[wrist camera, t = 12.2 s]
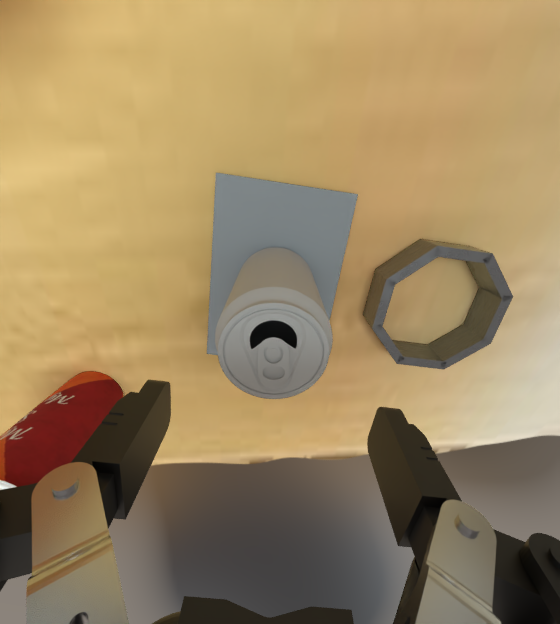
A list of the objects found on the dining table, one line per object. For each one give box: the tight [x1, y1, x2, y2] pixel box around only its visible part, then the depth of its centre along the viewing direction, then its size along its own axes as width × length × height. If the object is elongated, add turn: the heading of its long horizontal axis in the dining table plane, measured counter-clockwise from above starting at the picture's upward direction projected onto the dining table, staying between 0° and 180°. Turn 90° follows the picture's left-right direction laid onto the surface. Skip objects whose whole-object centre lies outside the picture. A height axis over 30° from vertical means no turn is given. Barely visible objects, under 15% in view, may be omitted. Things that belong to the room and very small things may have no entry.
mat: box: [207, 173, 358, 355], centre depth 26 cm, size 11×16×1 cm
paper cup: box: [0, 371, 123, 490], centre depth 25 cm, size 8×8×14 cm
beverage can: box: [215, 247, 333, 399], centre depth 20 cm, size 6×6×12 cm
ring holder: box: [363, 239, 513, 369], centre depth 26 cm, size 11×11×3 cm
